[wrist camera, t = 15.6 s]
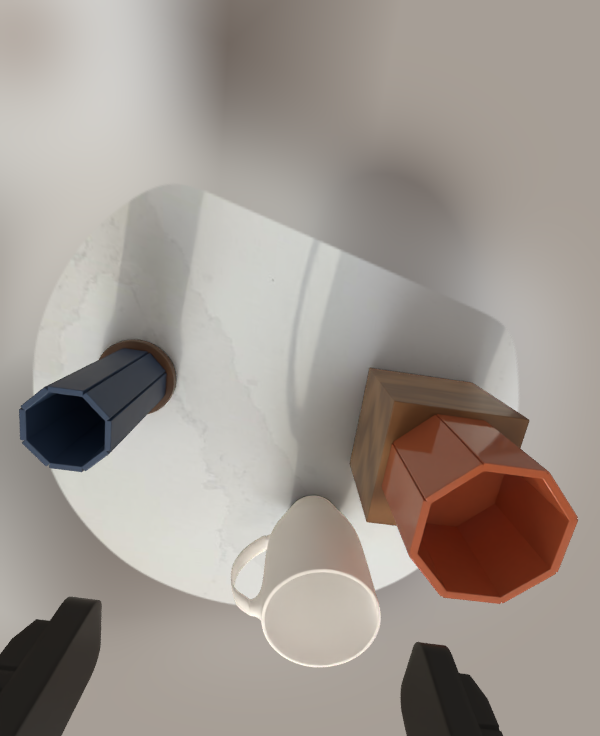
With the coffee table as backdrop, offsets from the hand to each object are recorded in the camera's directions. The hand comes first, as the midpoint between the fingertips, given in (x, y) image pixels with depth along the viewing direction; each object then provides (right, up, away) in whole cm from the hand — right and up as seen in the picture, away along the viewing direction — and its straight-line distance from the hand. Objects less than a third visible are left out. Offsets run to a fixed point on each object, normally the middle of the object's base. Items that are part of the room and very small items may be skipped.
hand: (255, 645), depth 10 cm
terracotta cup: (+12, -1, +19) cm, 22 cm away
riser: (+12, +2, +27) cm, 30 cm away
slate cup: (-14, +6, +25) cm, 29 cm away
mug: (+1, -9, +30) cm, 31 cm away
